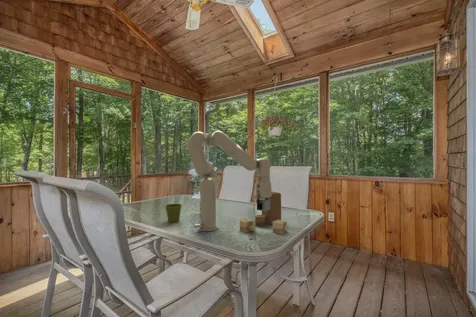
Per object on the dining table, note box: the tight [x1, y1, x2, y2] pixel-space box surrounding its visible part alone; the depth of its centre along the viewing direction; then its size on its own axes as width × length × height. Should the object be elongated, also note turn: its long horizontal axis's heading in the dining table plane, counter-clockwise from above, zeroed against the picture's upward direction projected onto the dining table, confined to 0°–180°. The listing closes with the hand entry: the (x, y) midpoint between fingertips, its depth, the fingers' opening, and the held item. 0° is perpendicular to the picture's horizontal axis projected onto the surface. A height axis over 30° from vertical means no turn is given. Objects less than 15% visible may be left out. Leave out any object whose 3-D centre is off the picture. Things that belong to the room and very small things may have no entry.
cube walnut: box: [254, 214, 267, 228], centre depth 151 cm, size 6×6×6 cm
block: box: [261, 191, 282, 225], centre depth 158 cm, size 10×10×20 cm
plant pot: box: [164, 203, 183, 223], centre depth 163 cm, size 12×12×11 cm
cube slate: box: [256, 199, 270, 212], centre depth 141 cm, size 6×6×6 cm
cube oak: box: [239, 218, 255, 233], centre depth 140 cm, size 6×6×6 cm
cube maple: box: [272, 219, 288, 235], centre depth 137 cm, size 6×6×6 cm
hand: (263, 208), depth 141 cm, fingers closed on cube slate, 6 cm apart
